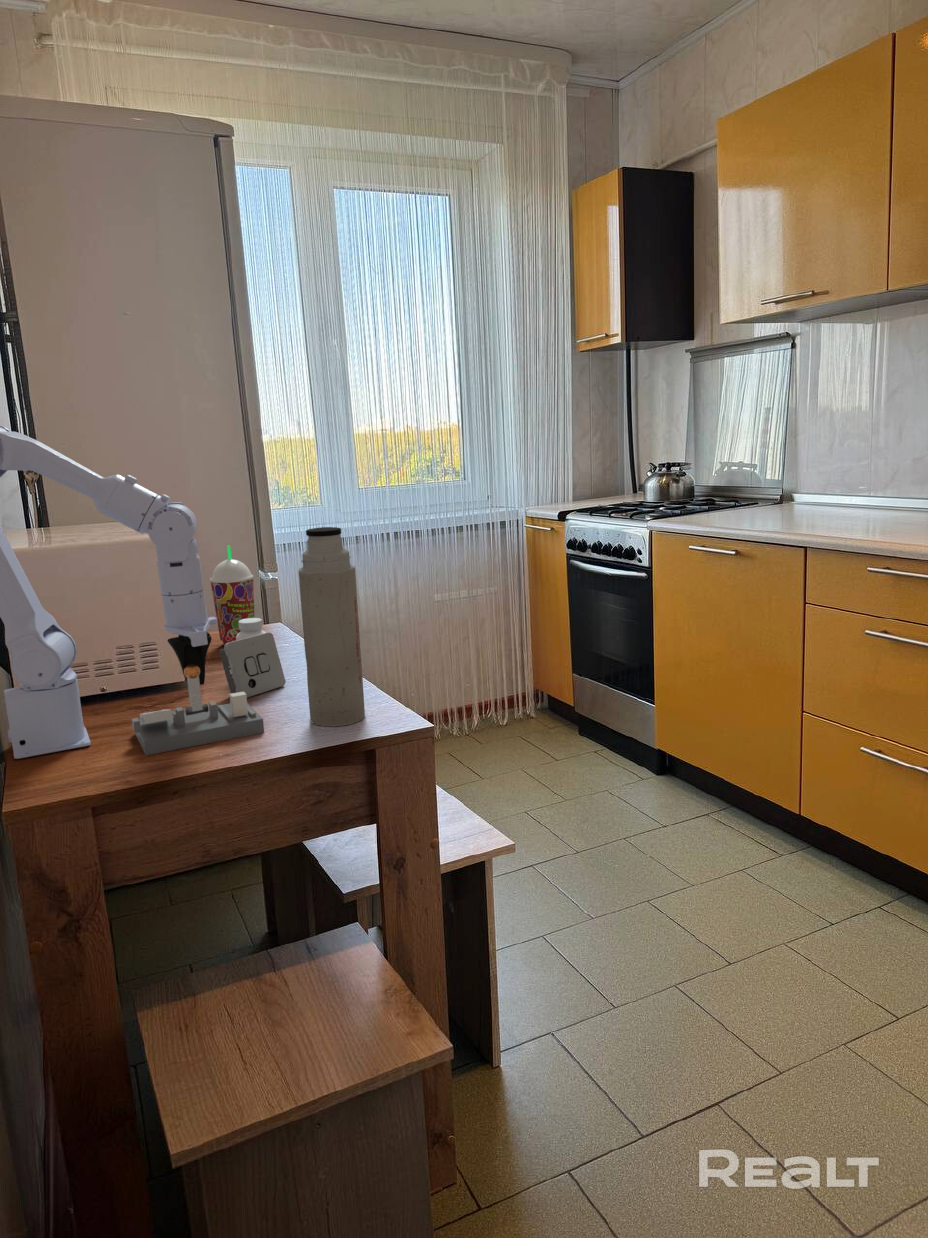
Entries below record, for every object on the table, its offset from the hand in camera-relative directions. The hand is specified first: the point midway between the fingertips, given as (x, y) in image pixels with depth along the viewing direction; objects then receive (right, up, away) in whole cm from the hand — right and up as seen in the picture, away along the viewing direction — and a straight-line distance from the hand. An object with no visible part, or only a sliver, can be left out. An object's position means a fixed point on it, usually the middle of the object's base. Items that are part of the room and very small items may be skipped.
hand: (196, 684), depth 124 cm
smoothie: (-7, +4, +51) cm, 52 cm away
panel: (0, -7, 0) cm, 7 cm away
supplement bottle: (+1, -1, +29) cm, 29 cm away
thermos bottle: (+20, -5, +4) cm, 21 cm away
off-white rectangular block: (+6, -4, 0) cm, 7 cm away
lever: (0, -3, -1) cm, 4 cm away
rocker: (-5, -4, -3) cm, 7 cm away
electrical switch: (+3, -3, +19) cm, 20 cm away
